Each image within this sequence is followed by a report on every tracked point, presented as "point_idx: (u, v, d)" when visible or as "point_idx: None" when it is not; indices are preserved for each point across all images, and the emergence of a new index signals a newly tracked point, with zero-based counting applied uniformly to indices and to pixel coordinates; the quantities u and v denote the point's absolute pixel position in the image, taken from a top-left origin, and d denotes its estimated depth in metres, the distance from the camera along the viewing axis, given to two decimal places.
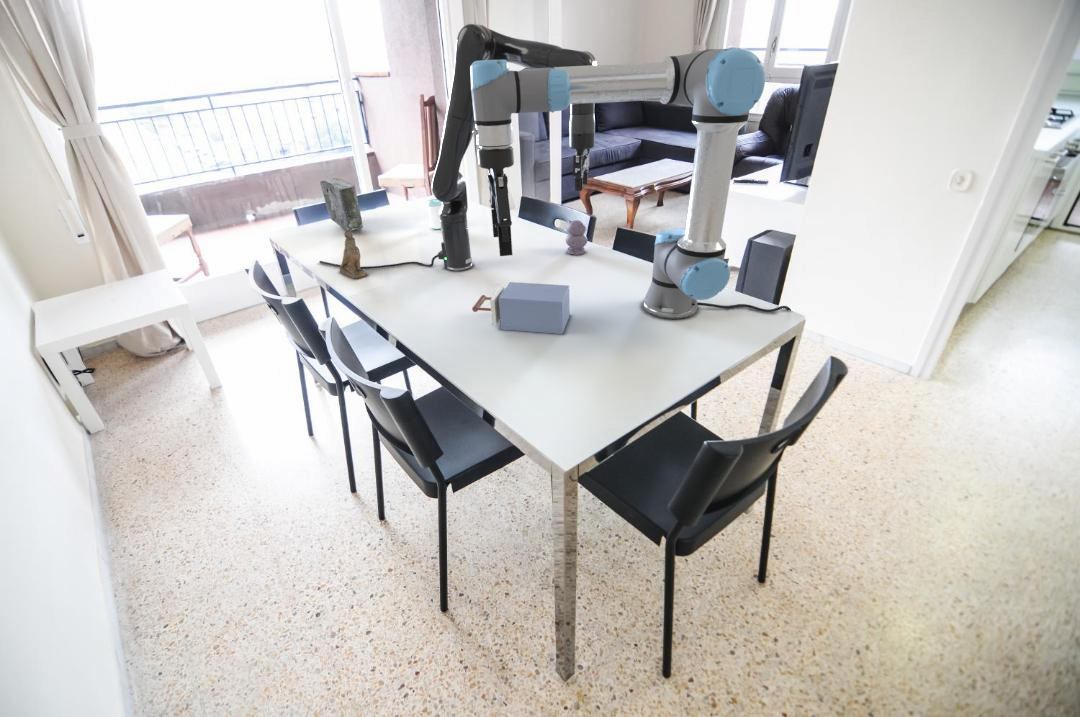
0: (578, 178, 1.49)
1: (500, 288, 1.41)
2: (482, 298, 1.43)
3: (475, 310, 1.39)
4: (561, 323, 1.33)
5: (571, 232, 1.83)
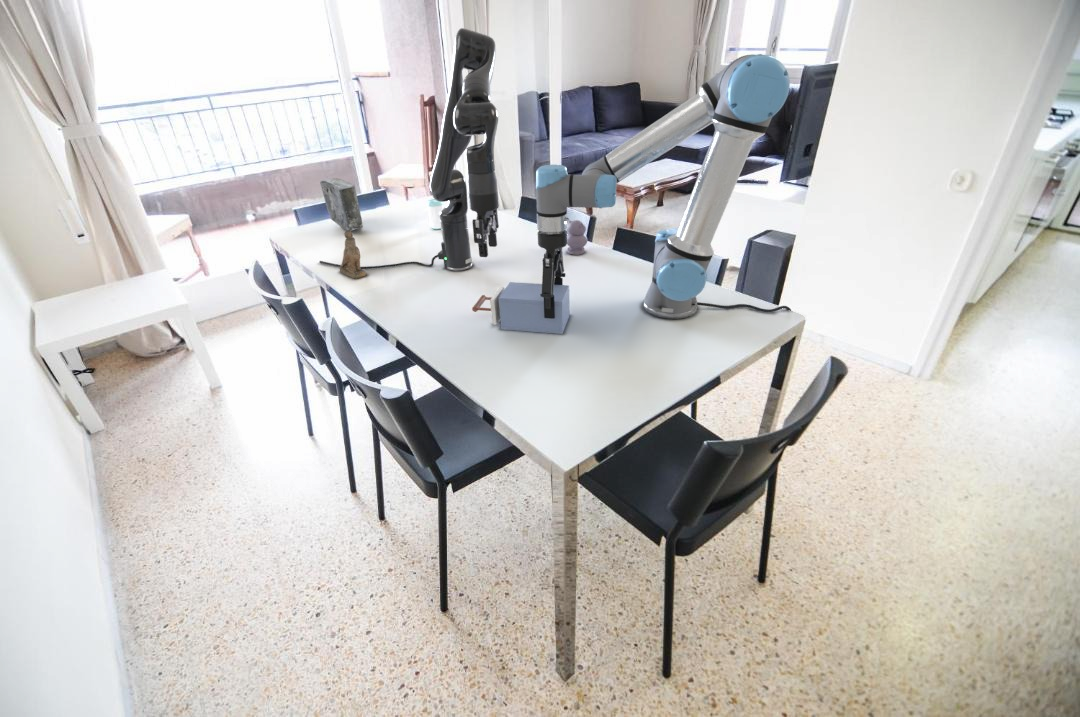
0: None
1: (500, 288, 1.41)
2: (482, 298, 1.43)
3: (475, 310, 1.39)
4: (561, 323, 1.33)
5: (571, 232, 1.83)
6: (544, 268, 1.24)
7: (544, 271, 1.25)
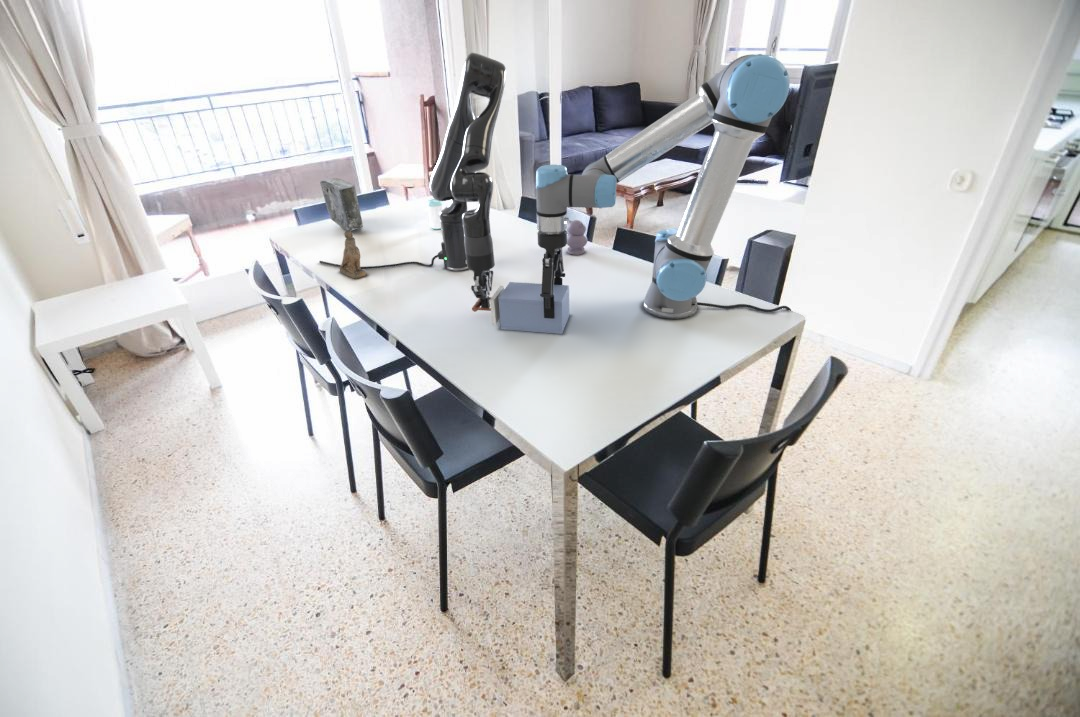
0: None
1: (500, 288, 1.41)
2: None
3: (475, 310, 1.39)
4: (561, 323, 1.33)
5: (571, 232, 1.83)
6: (544, 268, 1.25)
7: (544, 271, 1.25)
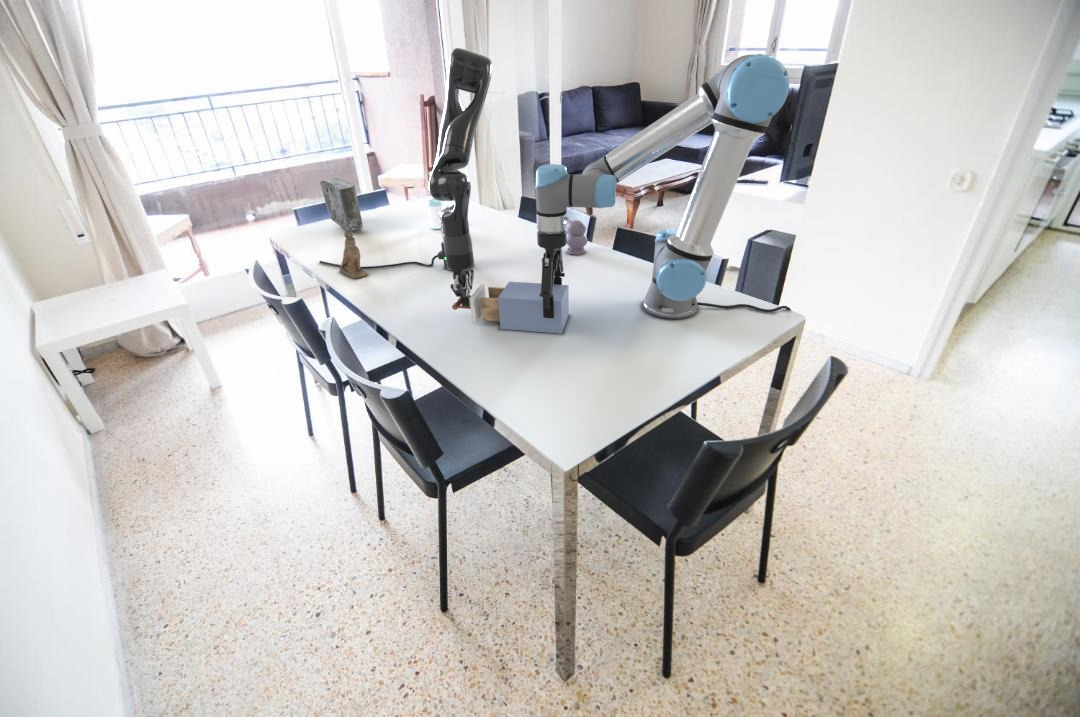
0: None
1: (481, 286, 1.42)
2: None
3: (455, 308, 1.40)
4: (560, 323, 1.33)
5: (571, 232, 1.83)
6: (543, 268, 1.25)
7: (543, 271, 1.25)
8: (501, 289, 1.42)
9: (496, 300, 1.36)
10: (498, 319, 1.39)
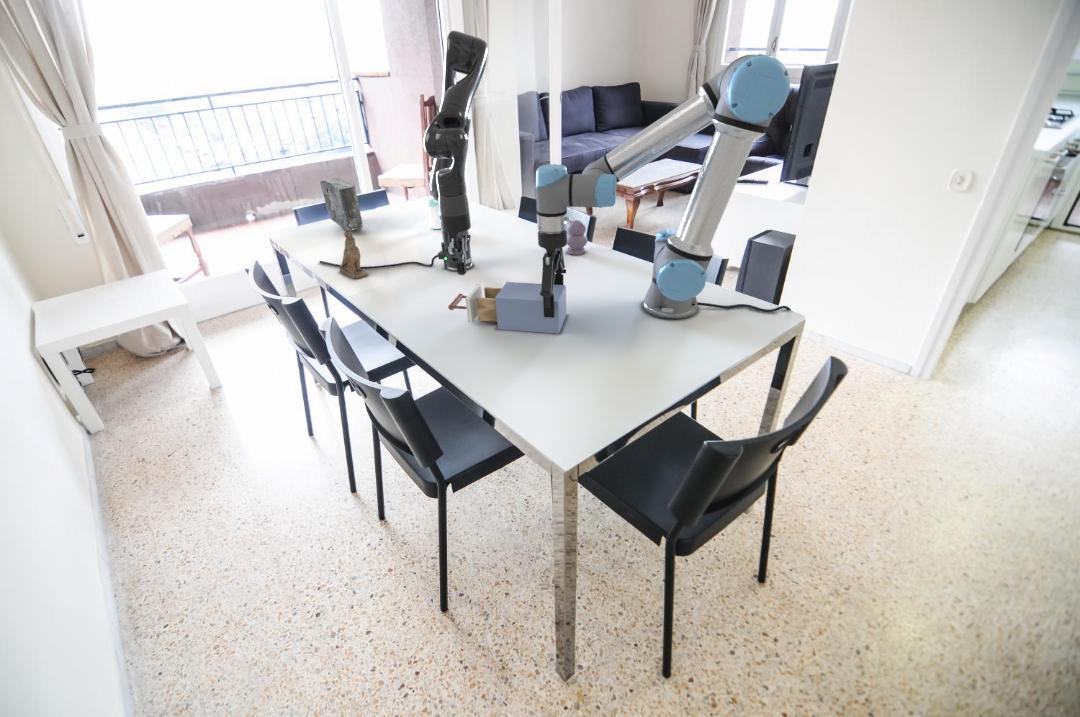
0: None
1: (477, 287, 1.43)
2: (459, 296, 1.45)
3: (451, 308, 1.40)
4: (557, 323, 1.33)
5: (571, 232, 1.83)
6: (544, 266, 1.24)
7: (544, 269, 1.24)
8: (497, 289, 1.42)
9: (492, 300, 1.36)
10: (494, 319, 1.39)
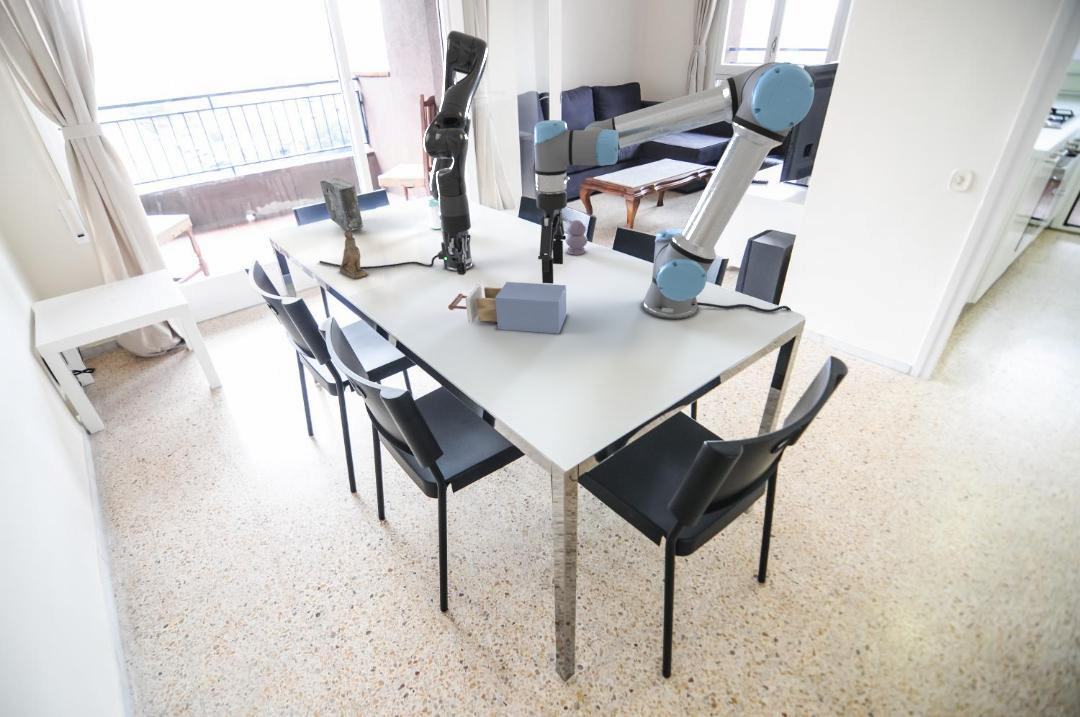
0: None
1: (477, 287, 1.43)
2: (459, 296, 1.45)
3: (451, 308, 1.40)
4: (557, 323, 1.33)
5: (571, 232, 1.83)
6: (543, 228, 1.19)
7: (543, 231, 1.19)
8: (497, 289, 1.42)
9: (492, 300, 1.36)
10: (494, 319, 1.39)
